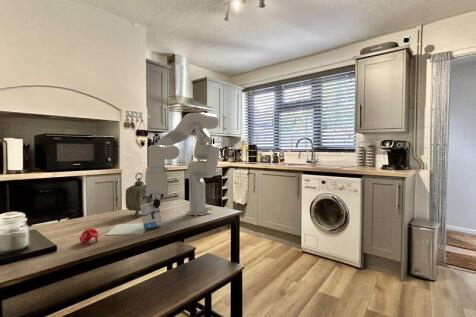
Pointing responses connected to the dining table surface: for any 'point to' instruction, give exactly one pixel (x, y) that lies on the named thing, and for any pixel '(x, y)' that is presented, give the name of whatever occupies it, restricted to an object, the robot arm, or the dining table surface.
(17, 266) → the dining table surface
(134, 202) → the tabletop clock
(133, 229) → the mat
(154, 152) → the robot arm
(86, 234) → the red hair claw clip
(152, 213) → the ink box
